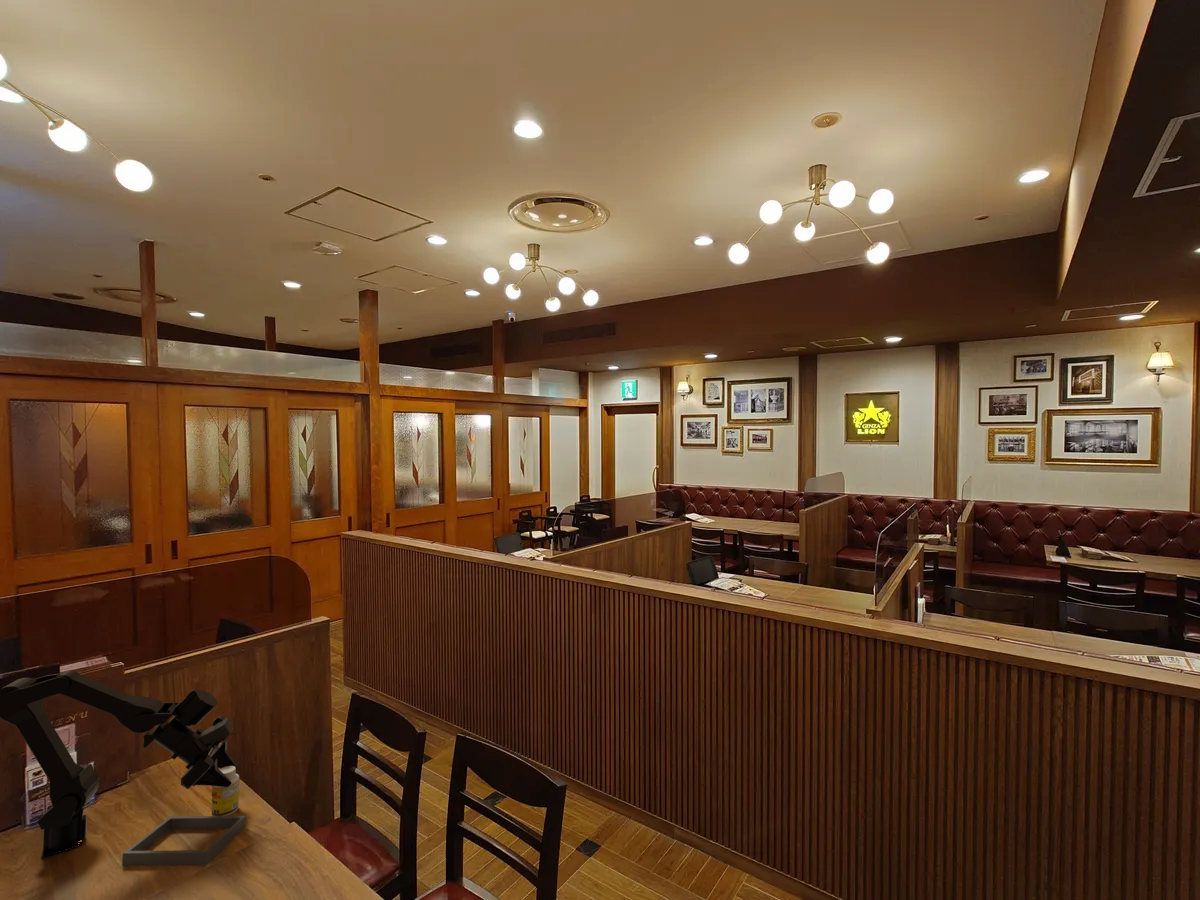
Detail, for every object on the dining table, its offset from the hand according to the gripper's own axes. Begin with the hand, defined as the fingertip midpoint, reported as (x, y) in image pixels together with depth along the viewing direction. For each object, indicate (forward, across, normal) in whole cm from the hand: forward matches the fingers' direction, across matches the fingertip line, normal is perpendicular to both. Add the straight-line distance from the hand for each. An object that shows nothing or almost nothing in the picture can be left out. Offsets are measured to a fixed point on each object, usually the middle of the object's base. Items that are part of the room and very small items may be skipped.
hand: (233, 777), depth 138 cm
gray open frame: (+1, -11, +10) cm, 15 cm away
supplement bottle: (+5, 0, +7) cm, 8 cm away
